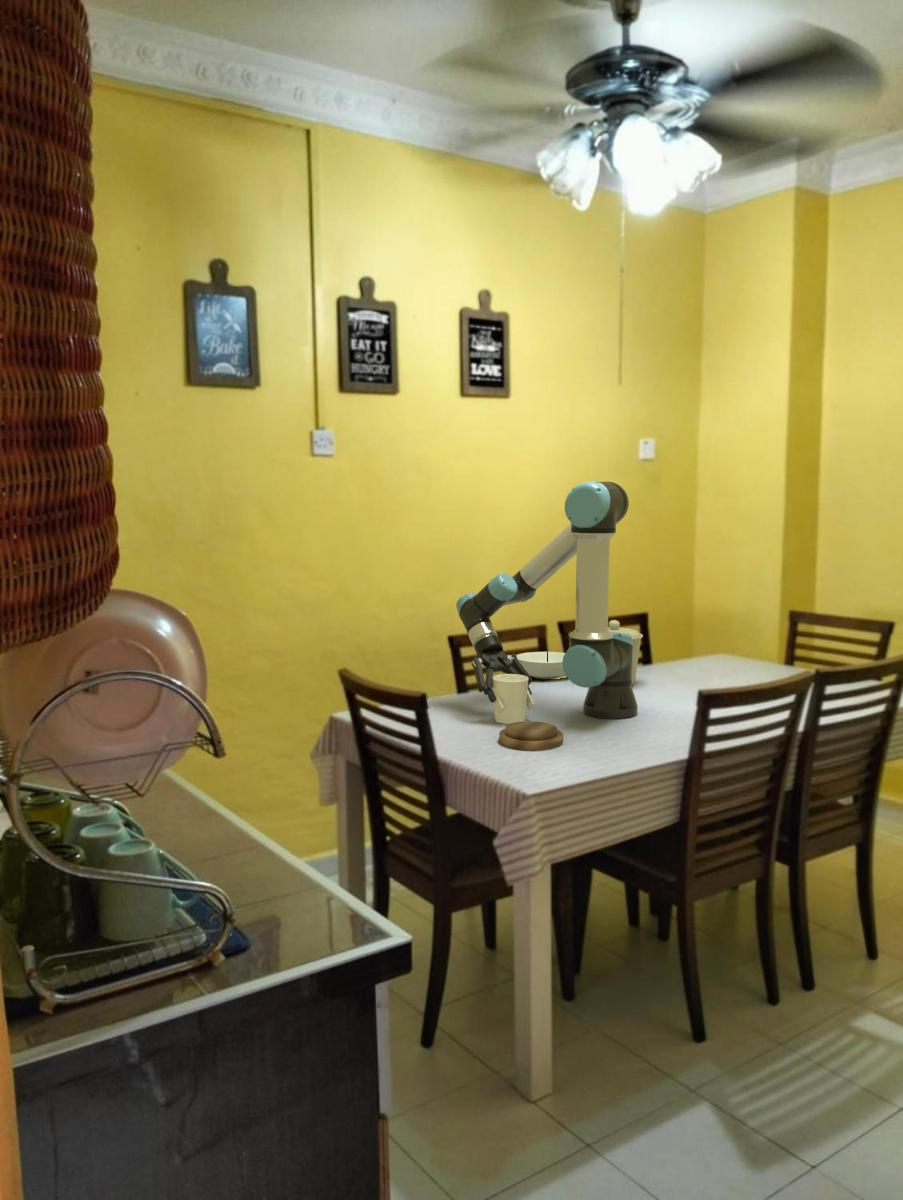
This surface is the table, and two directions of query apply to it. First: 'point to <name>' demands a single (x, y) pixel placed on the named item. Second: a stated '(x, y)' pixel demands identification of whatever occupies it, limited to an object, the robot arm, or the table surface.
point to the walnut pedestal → (530, 736)
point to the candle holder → (511, 697)
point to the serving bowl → (542, 664)
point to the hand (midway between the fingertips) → (516, 708)
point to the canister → (635, 641)
